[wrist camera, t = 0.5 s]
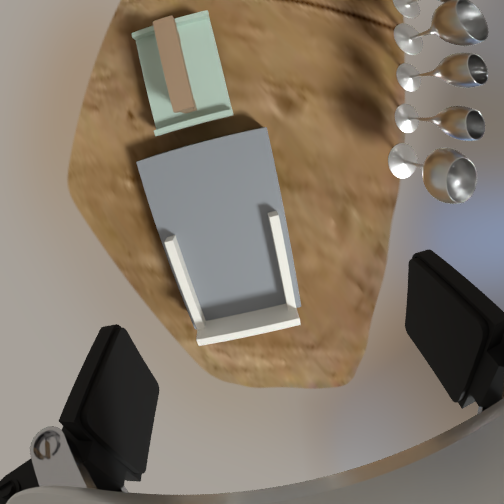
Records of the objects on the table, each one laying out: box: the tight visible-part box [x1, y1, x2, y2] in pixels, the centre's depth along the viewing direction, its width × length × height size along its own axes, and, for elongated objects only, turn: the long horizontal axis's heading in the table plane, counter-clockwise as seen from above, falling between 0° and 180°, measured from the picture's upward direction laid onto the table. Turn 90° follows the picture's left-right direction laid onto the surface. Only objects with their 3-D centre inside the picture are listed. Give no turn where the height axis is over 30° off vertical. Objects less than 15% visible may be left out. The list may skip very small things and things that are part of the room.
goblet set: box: [388, 0, 488, 204], centre depth 24 cm, size 28×6×13 cm, turn 177°
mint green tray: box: [132, 10, 233, 136], centre depth 25 cm, size 12×8×8 cm, turn 13°
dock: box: [136, 127, 301, 346], centre depth 33 cm, size 22×14×6 cm, turn 13°
